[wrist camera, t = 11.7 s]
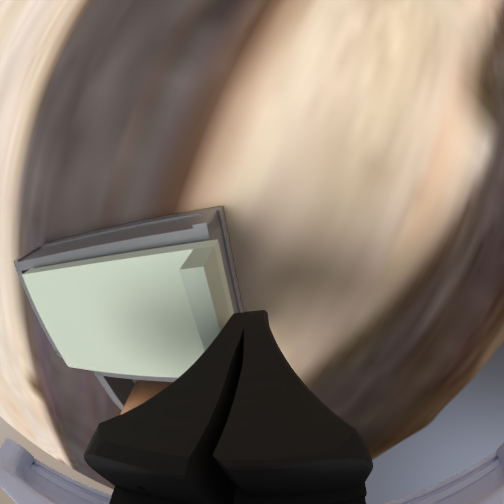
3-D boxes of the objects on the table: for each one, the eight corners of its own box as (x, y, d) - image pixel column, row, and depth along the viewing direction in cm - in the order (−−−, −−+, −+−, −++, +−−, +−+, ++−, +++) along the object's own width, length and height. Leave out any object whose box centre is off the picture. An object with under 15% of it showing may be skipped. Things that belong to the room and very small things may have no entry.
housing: (263, 403, 20) (262, 438, 16) (119, 397, 21) (106, 423, 18) (222, 204, 14) (208, 222, 11) (43, 242, 15) (12, 261, 12)
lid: (246, 365, 13) (242, 404, 11) (73, 359, 14) (55, 384, 12) (217, 239, 11) (203, 266, 8) (30, 269, 12) (2, 288, 9)
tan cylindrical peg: (196, 400, 18) (177, 475, 12) (151, 396, 19) (125, 464, 12) (181, 365, 17) (151, 449, 11) (132, 363, 17) (95, 435, 11)
